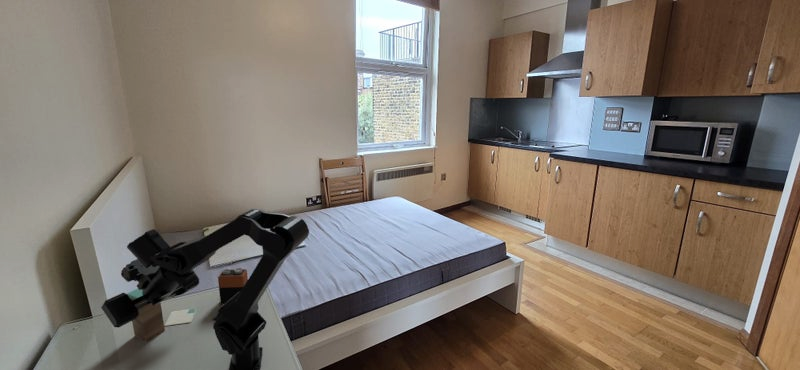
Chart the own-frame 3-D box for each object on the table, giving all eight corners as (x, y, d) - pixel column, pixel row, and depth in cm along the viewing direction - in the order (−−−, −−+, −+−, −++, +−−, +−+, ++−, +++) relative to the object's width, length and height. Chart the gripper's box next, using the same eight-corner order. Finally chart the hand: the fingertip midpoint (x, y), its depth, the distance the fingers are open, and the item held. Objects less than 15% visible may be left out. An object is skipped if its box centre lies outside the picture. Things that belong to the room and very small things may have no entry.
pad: (190, 322, 87) (190, 321, 87) (164, 326, 85) (164, 325, 85) (196, 308, 92) (196, 307, 92) (172, 312, 90) (171, 311, 90)
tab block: (164, 330, 83) (158, 288, 80) (146, 341, 79) (138, 298, 76) (153, 325, 85) (146, 284, 82) (134, 336, 81) (126, 293, 78)
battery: (245, 304, 95) (242, 273, 93) (220, 305, 94) (216, 274, 92) (249, 295, 100) (247, 265, 97) (225, 296, 99) (222, 266, 96)
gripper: (187, 235, 83) (163, 265, 90) (98, 268, 66) (77, 301, 73) (212, 271, 82) (186, 297, 89) (129, 313, 65) (105, 342, 72)
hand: (143, 307), depth 81 cm, fingers open, 9 cm apart
